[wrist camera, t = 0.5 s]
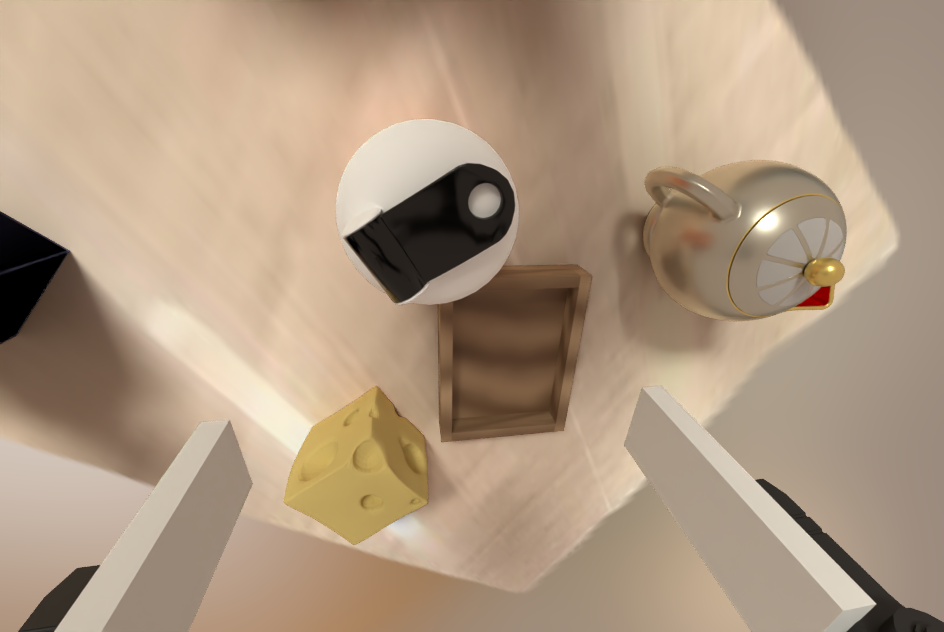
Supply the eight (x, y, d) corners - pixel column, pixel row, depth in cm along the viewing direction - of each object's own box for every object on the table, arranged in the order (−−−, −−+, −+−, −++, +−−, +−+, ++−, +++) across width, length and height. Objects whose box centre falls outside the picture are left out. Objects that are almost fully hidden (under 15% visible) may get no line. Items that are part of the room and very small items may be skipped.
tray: (437, 267, 37) (440, 279, 33) (577, 264, 39) (592, 275, 36) (439, 420, 45) (441, 442, 42) (553, 411, 48) (563, 430, 44)
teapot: (763, 211, 40) (968, 252, 25) (673, 307, 44) (807, 392, 29) (663, 98, 33) (862, 67, 19) (567, 224, 37) (671, 279, 22)
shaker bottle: (487, 189, 34) (574, 244, 16) (417, 251, 36) (426, 362, 18) (423, 103, 30) (446, 54, 13) (347, 176, 32) (271, 223, 14)
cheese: (376, 382, 42) (368, 448, 33) (429, 437, 46) (435, 507, 38) (304, 427, 43) (277, 502, 34) (363, 476, 48) (353, 553, 39)
